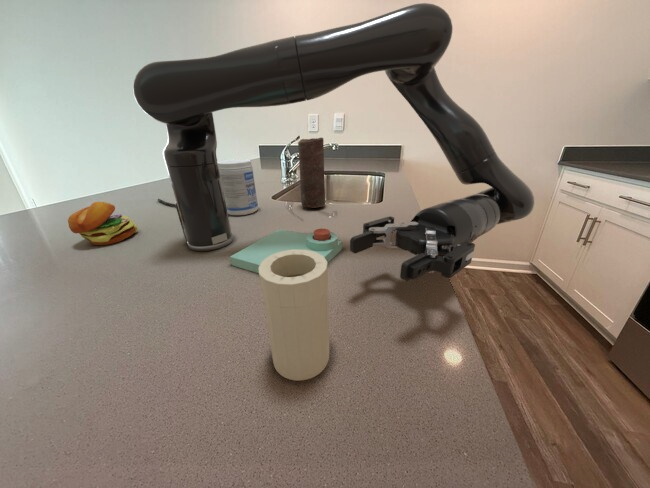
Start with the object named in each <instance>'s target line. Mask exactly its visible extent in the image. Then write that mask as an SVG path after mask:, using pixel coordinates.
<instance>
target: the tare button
mask: <svg viewBox="0 0 650 488" xmlns="http://www.w3.org/2000/svg"><path fill="white" fill-rule="evenodd" d="M313 232H314V240H318V241H326V240H329V239H330V232H331V230H330V229H328V228H317V229H314V230H313Z"/></svg>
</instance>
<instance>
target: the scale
mask: <svg viewBox="0 0 650 488" xmlns="http://www.w3.org/2000/svg"><path fill="white" fill-rule="evenodd" d="M342 249H343V240H339V239H338V234H336V233H335V232H333V231H330V239H329V240H326V241H318V240H314V231H313V232H310V233H309V234H307V233H302V232H298V231H293V230H288V229H281V228H278V229H277V230H275V231H273V232H271V233H270V234H268V235H265V236H264V237H261V238H260V239H259V240H257V241H255V242H253V243H251V244H250V245H248V246H246V247H244V248H243V249H241V250H239V251H237V252H236V253H233V254H232V255H230V256H229V259H230V264H231V266H232V267H236V268H239V269H242V270H246V271H249V272H252V273H256V274H259V270H258V268H259V266H260V264H261V263H262V261H263V260H264V259H266V258H267V257H269V256H270V255H272V254H275V253H278V252H281V251H287V250H309V251H314V252H317V253H319V254H320V255H322V256H324V258H325V259H326V261H327V263H328V264H329V263H330V262H331V260H333V259H334V258H335V257H336V255H338V254H339V253H340V252H341V251H342Z"/></svg>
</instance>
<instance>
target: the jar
mask: <svg viewBox="0 0 650 488" xmlns="http://www.w3.org/2000/svg"><path fill="white" fill-rule="evenodd" d="M328 264H329V262H328V263H327V261H326V259H325V258H324V256H322V255H320V254H319V253H317V252H314V251H309V250H287V251H281V252H278V253H275V254H272V255H270V256H269V257H267V258H266V259H264V260H263V261H262V263H261V264H260V266H259V268H258V270H259V273H258V276H259V282H260V288H261V294H262V300H263V301H262V302H263V307H264V313H265V319H266V327H267V333H268V339H269V344H270V351H271V358H272V363H273V367H274V368H275V370H276V373H278V374H279V375H280V376H282V377H283V378H285V379H287V380H291V381H297V382H298V381H299V382H300V381H301V382H302V381H307V380H310V379H313V378H315V377H316V376H318V375H319V374H321V373H322V372H324V370H325V368H326V367H327V365H328V363H329V361H330V344H331V343H330V311H329V310H330V309H329V308H330V306H329V304H330V303H329V270H328V269H329V268H328V267H329V265H328Z"/></svg>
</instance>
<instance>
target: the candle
mask: <svg viewBox="0 0 650 488" xmlns="http://www.w3.org/2000/svg"><path fill="white" fill-rule="evenodd" d="M324 144H325V143H324V137H318V138H317V137H316V138H302V139H300V140H299V141H298V142H297V146H298V147H297V149H298V163H299V166H298V167H299V181H300V182H299V183H300V184H299V186H300V196H301V197H300V202H301V207H303V208H308V209H316V208H321V207H325V206H326V186H325V185H326V184H325V151H324V150H325V148H324Z"/></svg>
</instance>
